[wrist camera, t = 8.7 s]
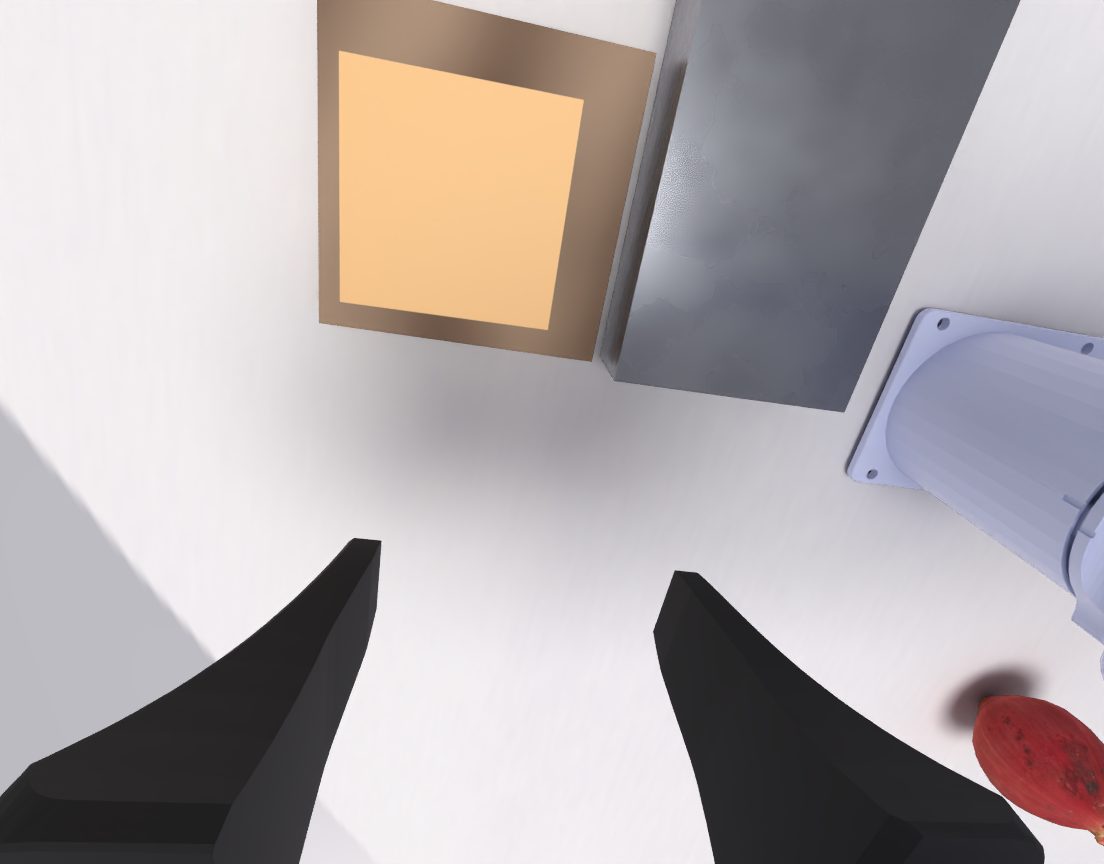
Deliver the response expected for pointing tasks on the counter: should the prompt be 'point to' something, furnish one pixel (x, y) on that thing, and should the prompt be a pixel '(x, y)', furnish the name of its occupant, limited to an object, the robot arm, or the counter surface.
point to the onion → (1042, 760)
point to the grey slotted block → (789, 188)
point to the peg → (451, 191)
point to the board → (514, 59)
